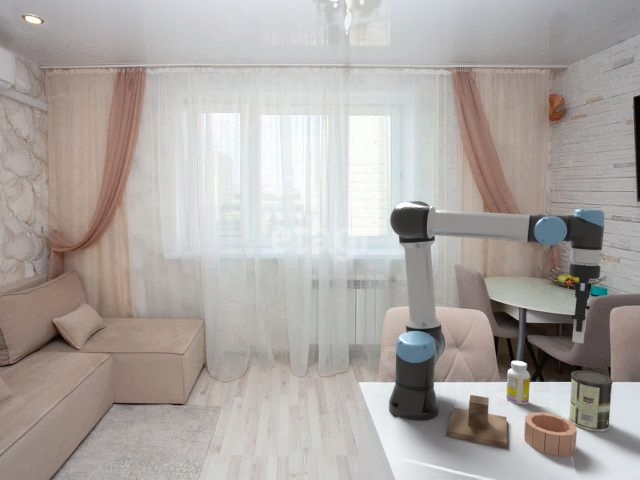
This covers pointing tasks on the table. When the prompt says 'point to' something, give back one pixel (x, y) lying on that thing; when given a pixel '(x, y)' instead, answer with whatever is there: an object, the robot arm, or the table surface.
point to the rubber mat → (478, 442)
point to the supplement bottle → (518, 383)
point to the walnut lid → (478, 424)
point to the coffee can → (590, 400)
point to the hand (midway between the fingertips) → (578, 336)
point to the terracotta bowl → (550, 434)
